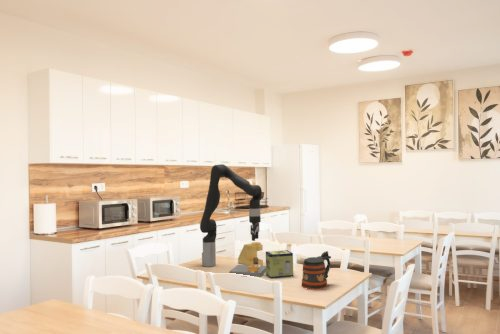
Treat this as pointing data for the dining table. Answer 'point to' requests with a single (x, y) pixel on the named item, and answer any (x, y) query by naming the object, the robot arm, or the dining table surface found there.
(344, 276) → the dining table surface
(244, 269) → the subfloor board
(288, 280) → the dining table surface
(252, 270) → the stud finder
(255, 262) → the awl
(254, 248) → the tan lumpy shape
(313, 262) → the beer stein
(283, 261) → the protein box
